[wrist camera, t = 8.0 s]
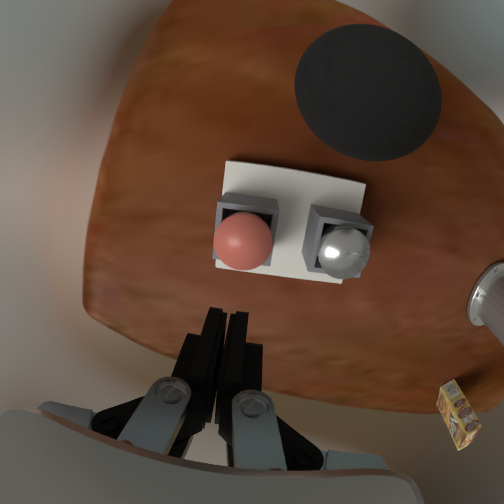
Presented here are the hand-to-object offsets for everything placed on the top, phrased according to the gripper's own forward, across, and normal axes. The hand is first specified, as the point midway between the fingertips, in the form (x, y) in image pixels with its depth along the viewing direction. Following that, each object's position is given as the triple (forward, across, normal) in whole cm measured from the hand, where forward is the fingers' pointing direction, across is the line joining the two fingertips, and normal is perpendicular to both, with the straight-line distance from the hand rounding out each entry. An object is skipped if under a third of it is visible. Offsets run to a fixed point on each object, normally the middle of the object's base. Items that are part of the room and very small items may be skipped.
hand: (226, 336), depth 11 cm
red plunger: (+18, 0, 0) cm, 18 cm away
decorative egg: (+21, -8, -15) cm, 27 cm away
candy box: (+21, -49, +32) cm, 62 cm away
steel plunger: (+18, -9, 0) cm, 20 cm away
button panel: (+21, -4, 0) cm, 21 cm away
